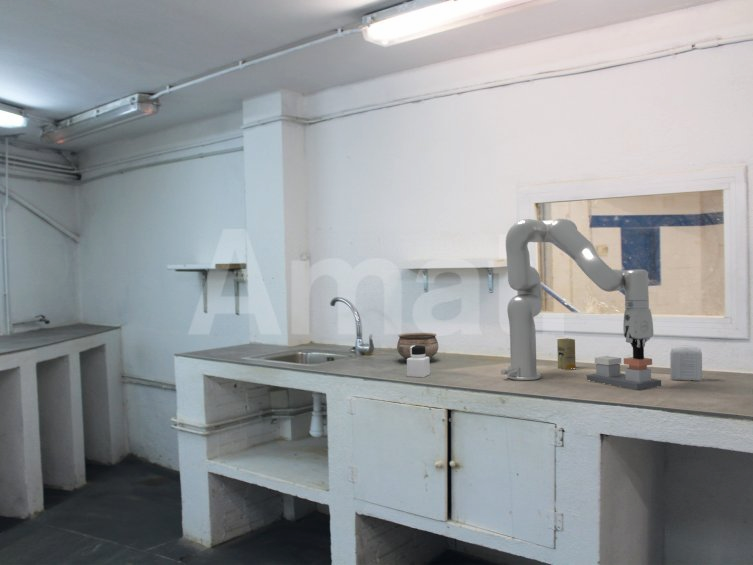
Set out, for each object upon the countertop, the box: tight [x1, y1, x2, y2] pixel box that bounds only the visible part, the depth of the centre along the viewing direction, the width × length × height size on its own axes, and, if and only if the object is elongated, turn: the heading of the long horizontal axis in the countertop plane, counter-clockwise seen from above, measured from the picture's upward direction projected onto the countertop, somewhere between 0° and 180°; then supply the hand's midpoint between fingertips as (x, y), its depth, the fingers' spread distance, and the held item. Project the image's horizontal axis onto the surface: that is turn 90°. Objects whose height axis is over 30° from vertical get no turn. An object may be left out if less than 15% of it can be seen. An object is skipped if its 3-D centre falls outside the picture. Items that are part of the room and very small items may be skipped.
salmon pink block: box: [623, 356, 653, 370], centre depth 215 cm, size 6×6×6 cm
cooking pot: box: [396, 332, 439, 360], centre depth 285 cm, size 25×19×12 cm
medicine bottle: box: [406, 345, 431, 378], centre depth 249 cm, size 7×7×12 cm
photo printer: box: [669, 345, 703, 382], centre depth 223 cm, size 10×4×12 cm, turn 72°
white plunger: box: [594, 355, 622, 365], centre depth 227 cm, size 6×6×6 cm
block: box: [586, 363, 662, 391], centre depth 221 cm, size 12×22×6 cm, turn 28°
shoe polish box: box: [556, 337, 577, 370], centre depth 254 cm, size 5×5×12 cm
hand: (638, 358), depth 215 cm, fingers closed
